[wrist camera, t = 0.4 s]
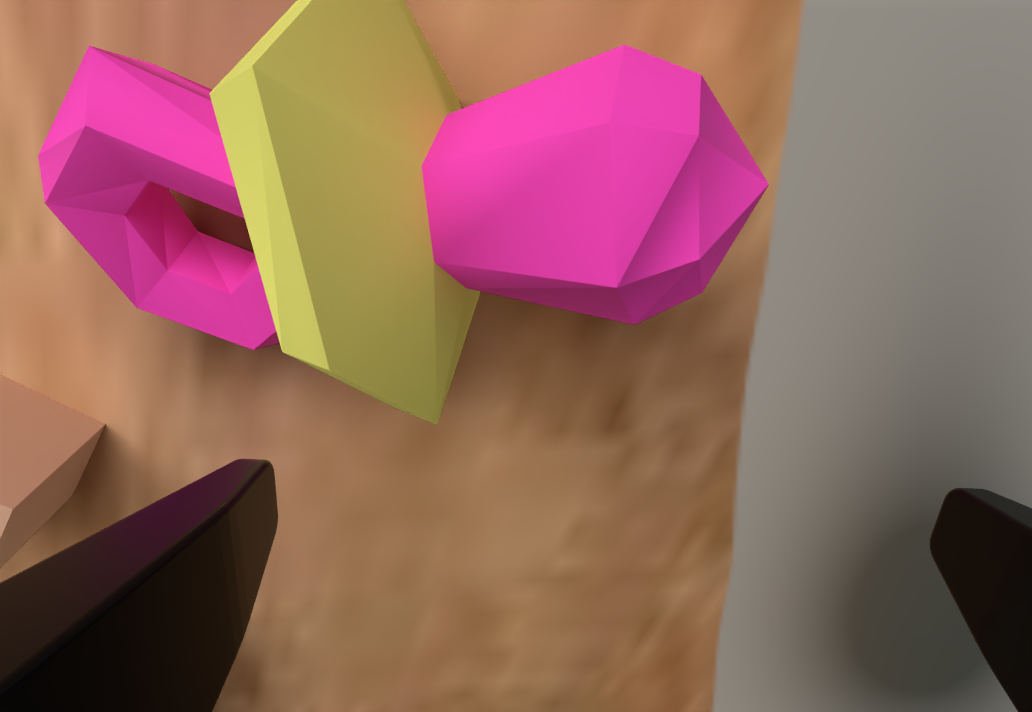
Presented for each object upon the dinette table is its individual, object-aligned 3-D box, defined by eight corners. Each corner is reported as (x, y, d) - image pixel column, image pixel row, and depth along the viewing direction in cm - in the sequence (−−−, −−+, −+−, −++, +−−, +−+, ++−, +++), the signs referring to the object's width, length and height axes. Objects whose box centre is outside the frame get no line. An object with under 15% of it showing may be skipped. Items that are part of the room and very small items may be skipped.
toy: (87, -32, 19) (-249, 189, 12) (771, -175, 14) (818, 73, 7) (262, 247, 26) (110, 478, 20) (752, 222, 21) (765, 524, 14)
